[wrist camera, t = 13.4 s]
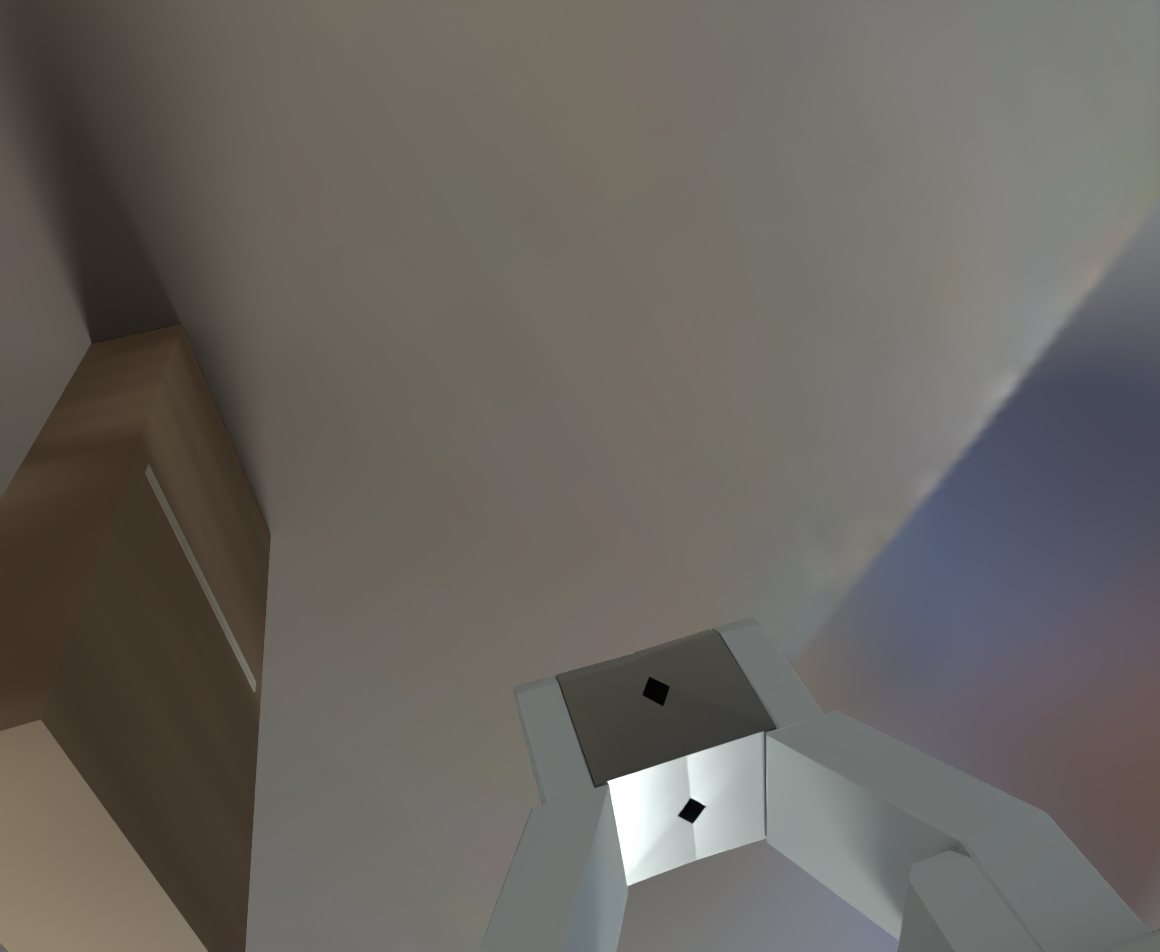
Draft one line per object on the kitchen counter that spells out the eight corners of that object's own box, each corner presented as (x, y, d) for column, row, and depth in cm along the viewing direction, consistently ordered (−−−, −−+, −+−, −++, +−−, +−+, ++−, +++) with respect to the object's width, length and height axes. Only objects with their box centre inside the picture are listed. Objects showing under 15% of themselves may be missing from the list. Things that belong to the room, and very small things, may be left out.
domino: (194, 555, 18) (100, 1049, 10) (90, 343, 15) (-165, 778, 7) (271, 535, 18) (244, 997, 10) (182, 323, 15) (42, 718, 7)
